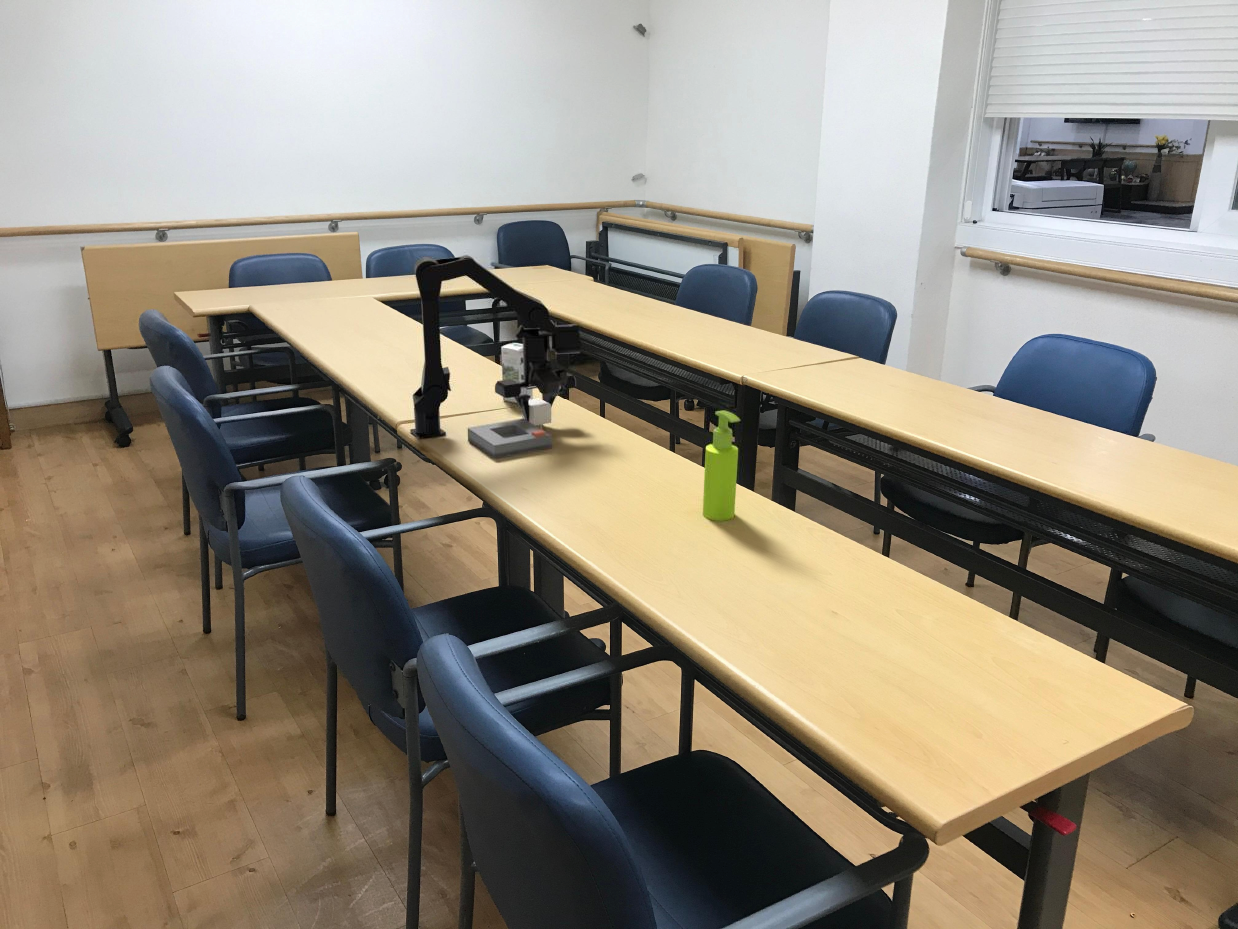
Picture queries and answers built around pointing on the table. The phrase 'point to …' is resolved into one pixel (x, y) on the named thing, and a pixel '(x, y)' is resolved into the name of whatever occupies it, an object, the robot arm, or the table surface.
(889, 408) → the table surface
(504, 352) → the syrup box
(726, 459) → the soap dispenser
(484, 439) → the socket
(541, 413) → the plug
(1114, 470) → the table surface
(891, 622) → the table surface
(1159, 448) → the table surface
